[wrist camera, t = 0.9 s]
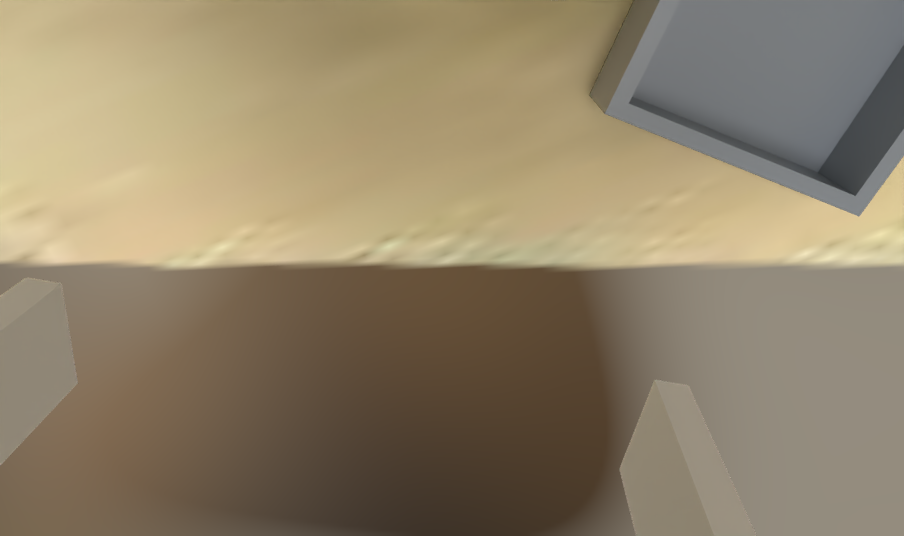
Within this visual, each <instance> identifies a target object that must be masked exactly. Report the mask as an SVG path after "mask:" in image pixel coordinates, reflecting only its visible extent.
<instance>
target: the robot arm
mask: <svg viewBox="0 0 904 536" xmlns="http://www.w3.org/2000/svg"><path fill="white" fill-rule="evenodd" d="M77 383H78V382H77V376H76V369H75V364H74V357H73V351H72V345H71V339H70V332H69V326H68V320H67V314H66V308H65V301H64V295H63V289H62V283H57V282H51V281H45V280H39V279H33V278H25V279H23V280H22V281H20V282H19V283H18V284H16V285H15V286H13V287H12V288H11V289H9V290H8V291H7V292H5V293H4V294H2V295H1V296H0V465H1V464H2V463H3V462H4V461H5V460H6V459H7V458H8V457H9V455H10V454H11V453H12V452H13V451H14V450H15V449H16V448H17V447H18V446H19V445H20V444H21V443H22V442H23V440H25V439H26V437H27V436H28V435H29V434H30V433H31V432H32V431H33V430H34V429H35V428H36V427H37V426H38V425H39V424H40V422H41V421H42V420H43V419H44V418H45V417H46V416H47V415H48V414H49V413H50V412H51V411H52V410H53V409H54V408H55V407H56V406H57V404H58V403H59V402H60V401H61V400H62V399H63V398H64V397H65V396H66V395H67V394H68V393H69V392H70V391H71V390H72V388H73V387H74V386H75V385H76V384H77ZM620 473H621V477H622V481H623V485H624V489H625V493H626V497H627V501H628V505H629V509H630V513H631V517H632V521H633V525H634V529H635V534H636V536H756V534H755V531H754V529H753V527H752V525H751V522H750V520H749V518H748V516H747V513H746V511H745V509H744V507H743V505H742V502H741V500H740V498H739V496H738V494H737V491H736V489H735V487H734V485H733V483H732V480H731V478H730V476H729V474H728V472H727V469H726V467H725V465H724V463H723V460H722V458H721V456H720V454H719V452H718V449H717V447H716V445H715V443H714V441H713V438H712V436H711V434H710V432H709V430H708V427H707V425H706V423H705V421H704V419H703V416H702V414H701V412H700V410H699V407H698V405H697V403H696V401H695V399H694V397H693V394H692V392H691V390H690V388H689V386H688V385H684V384H678V383H672V382H666V381H659V380H654V383H653V385H652V388H651V391H650V393H649V395H648V398H647V401H646V403H645V406H644V408H643V411H642V413H641V416H640V418H639V421H638V423H637V426H636V428H635V431H634V433H633V436H632V439H631V441H630V444H629V446H628V449H627V451H626V454H625V456H624V459H623V462H622V464H621V467H620Z"/></svg>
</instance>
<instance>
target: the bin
mask: <svg viewBox="0 0 904 536" xmlns="http://www.w3.org/2000/svg"><path fill="white" fill-rule="evenodd" d="M590 96H591V98H592V99H593V100H594V101H595V103H596V104H597V105H598V106H599V107H600V109H601V110H602V111H603V112H604V114H607V115H609V116H611V117H614V118H616V119H619V120H621V121H624V122H626V123H629V124H631V125H634V126H636V127H639V128H641V129H644V130H646V131H649V132H651V133H654V134H656V135H659V136H661V137H664V138H666V139H669V140H671V141H673V142H676V143H678V144H681V145H683V146H686V147H688V148H691V149H693V150H696V151H698V152H701V153H703V154H706V155H708V156H711V157H713V158H716V159H718V160H721V161H723V162H726V163H728V164H731V165H733V166H735V167H738V168H740V169H743V170H745V171H748V172H750V173H753V174H755V175H758V176H760V177H763V178H765V179H768V180H770V181H773V182H775V183H778V184H780V185H783V186H785V187H788V188H790V189H793V190H795V191H797V192H800V193H802V194H805V195H807V196H810V197H812V198H815V199H817V200H820V201H822V202H825V203H827V204H830V205H832V206H835V207H837V208H840V209H842V210H845V211H847V212H850V213H852V214H854V215H857V216H860V215H861V213H862V212H863V211H864V209H865V208H866V207H867V205H868V204H869V202H870V201H871V200H872V198H873V197H874V196H875V194H876V193H877V192H878V190H879V189H880V187H881V186H882V185H883V183H884V182H885V181H886V179H887V178H888V177H889V175H890V174H891V172H892V171H893V170H894V168H895V167H896V166H897V164H898V163H899V162H900V160H901V159H902V157H903V156H904V0H634V1H633V4H632V6H631V8H630V10H629V12H628V14H627V16H626V18H625V21H624V23H623V25H622V27H621V29H620V31H619V33H618V35H617V38H616V40H615V42H614V44H613V46H612V48H611V50H610V52H609V55H608V57H607V59H606V61H605V63H604V65H603V67H602V69H601V72H600V74H599V76H598V78H597V80H596V82H595V84H594V86H593V89H592V91H591V93H590Z"/></svg>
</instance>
